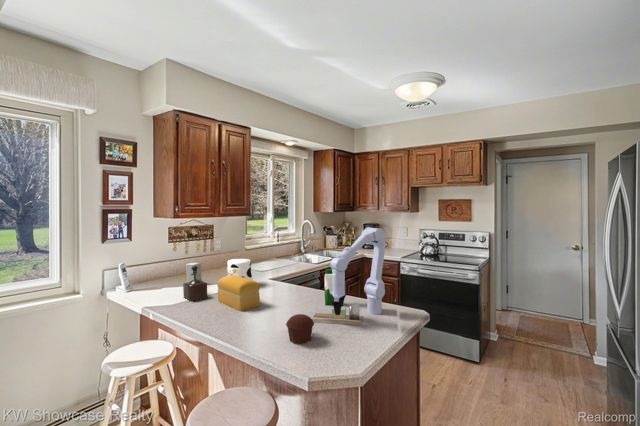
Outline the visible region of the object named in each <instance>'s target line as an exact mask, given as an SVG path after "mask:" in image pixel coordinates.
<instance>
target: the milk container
mask: <svg viewBox="0 0 640 426" xmlns="http://www.w3.org/2000/svg"><path fill="white" fill-rule="evenodd" d="M251 261H252V260H251V259H249V258H234V259H229V260H227V275H226V276H229V275H236V276H240V277H243V278H247V279H250V280H253V275H252V262H251ZM253 281H254V280H253Z"/></svg>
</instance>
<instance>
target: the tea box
mask: <svg viewBox="0 0 640 426" xmlns="http://www.w3.org/2000/svg"><path fill="white" fill-rule="evenodd" d="M331 314H332V319H346V315H347V307H346V306H343V307H341V313H340V315H335V311H334V307H333V306H332V308H331Z"/></svg>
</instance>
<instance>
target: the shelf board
mask: <svg viewBox="0 0 640 426" xmlns="http://www.w3.org/2000/svg"><path fill="white" fill-rule="evenodd" d="M309 317H310V318H311V319H312V320H313V322H314V323H321V324H334V325H347V326H348V325H349V326H360V327H361V326H362V325H363V320H364V315H362V316H361V315H360V320H349V314H348V315H347V314H346V319H332V313H323V312H322V313H320V312H316V313H314V315H313V316H309Z"/></svg>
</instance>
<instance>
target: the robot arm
mask: <svg viewBox="0 0 640 426" xmlns="http://www.w3.org/2000/svg"><path fill="white" fill-rule="evenodd" d="M368 242H370V243H371V244H372V245H373V253H372V254H373V255H372V261H371V268H370V269H371V270H370V277H368V278H367V279H366V281H365V284H364V287H363V290H364V293H365V294H366V297H367V298H366V299H367V300H366V303H367V305H366V306H367V307H366V308H367V310H366V312H367V314H369V315H373V316H378V315H381V314H382V313H383V311H382V310H383V309H382V308H383V307H382V306H383V303H382V302H383V300H382V299H383V298H384V296H385V294H386V289H385V282H384V281H383V280H382V275H383V267H384V261H385V259H384V258H385V251H386V244H387V243H386V232H385V230H384V229H383V228H380V227H379V228H377V227H370V226H366V227H365V228H364V230H362V231H361V234H360V236H359V237H357V239H356V240H355V241H354V242H353V243H352V245H350V246H346V247H344V248H343V250H342V251H341V253H339V254H338V255H337V257H333V258H332V259H331V261H330V263H329V266H330V269H332V272H333V292H330V294H332V295H333V296H334V299H331V303H332V305H333V306H332V308H333V307H334V311H335V315H340V313H341V307H344V303H345V299H346V296H347V294H346V281H345V279H346V278H345V273H346V272H345V271H346V270H347V269H348V265H349V263H350V262H351V261H352V260H353V259H354V258H355V257H356V256H357V255H356V254H357V251H359V249H361V248H362V247H363V246H364V245H365V244H367V243H368Z"/></svg>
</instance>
